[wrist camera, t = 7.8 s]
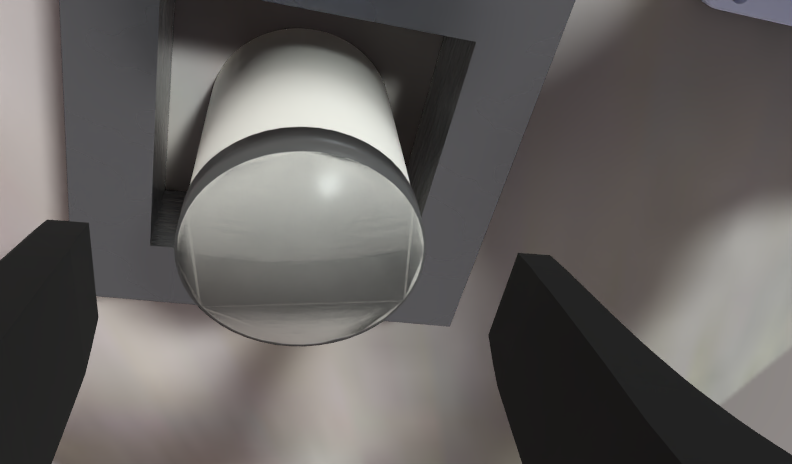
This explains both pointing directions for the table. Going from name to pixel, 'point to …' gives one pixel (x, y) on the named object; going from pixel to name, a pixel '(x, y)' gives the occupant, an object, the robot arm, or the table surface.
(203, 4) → the table surface
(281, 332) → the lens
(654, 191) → the table surface
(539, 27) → the grey square frame
